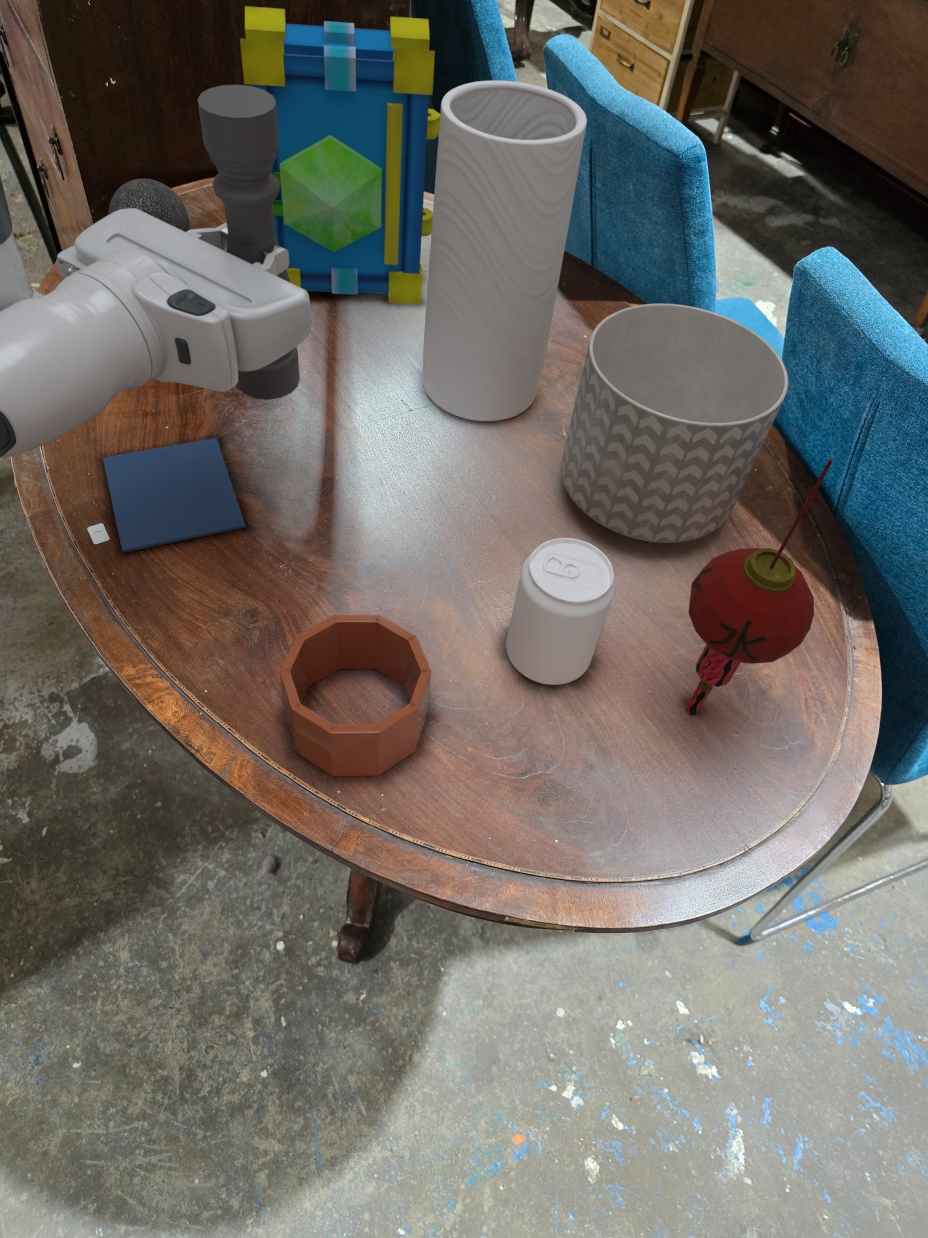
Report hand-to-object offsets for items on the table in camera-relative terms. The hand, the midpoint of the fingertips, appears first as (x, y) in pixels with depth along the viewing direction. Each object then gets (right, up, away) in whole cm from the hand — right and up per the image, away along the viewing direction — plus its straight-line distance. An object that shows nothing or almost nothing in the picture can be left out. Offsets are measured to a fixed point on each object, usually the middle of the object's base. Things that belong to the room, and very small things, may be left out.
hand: (259, 243), depth 73 cm
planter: (+37, -19, +22) cm, 47 cm away
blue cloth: (-13, -19, +16) cm, 28 cm away
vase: (+19, -4, +32) cm, 37 cm away
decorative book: (+1, +13, +44) cm, 46 cm away
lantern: (+38, -40, +5) cm, 56 cm away
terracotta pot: (+8, -41, +2) cm, 41 cm away
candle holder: (-2, -9, +10) cm, 14 cm away
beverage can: (+25, -35, +8) cm, 44 cm away
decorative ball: (-24, +17, +43) cm, 53 cm away
